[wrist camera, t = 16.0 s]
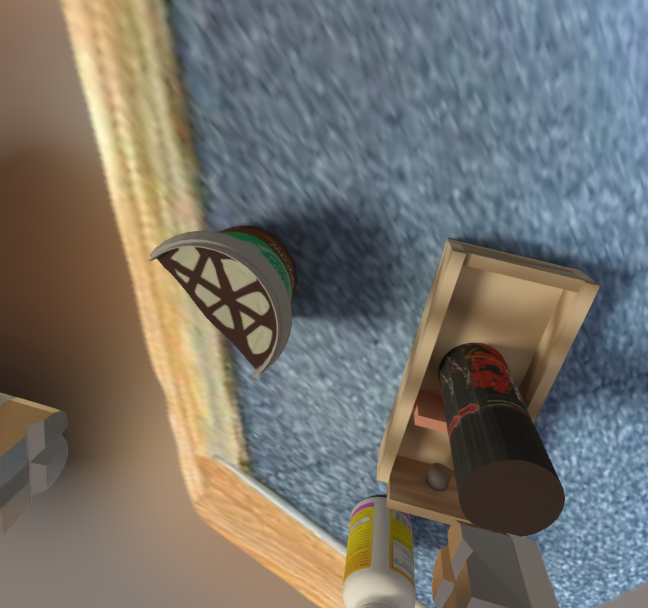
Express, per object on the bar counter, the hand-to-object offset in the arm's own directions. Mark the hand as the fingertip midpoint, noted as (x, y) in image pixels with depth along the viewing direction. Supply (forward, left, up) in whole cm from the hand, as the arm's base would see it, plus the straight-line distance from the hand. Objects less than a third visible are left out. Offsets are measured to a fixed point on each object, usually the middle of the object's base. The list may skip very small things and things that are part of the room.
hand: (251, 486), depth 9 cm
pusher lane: (+12, +13, -31) cm, 36 cm away
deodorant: (+11, +13, -30) cm, 35 cm away
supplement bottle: (+32, +10, -31) cm, 46 cm away
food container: (+6, -7, -31) cm, 33 cm away
